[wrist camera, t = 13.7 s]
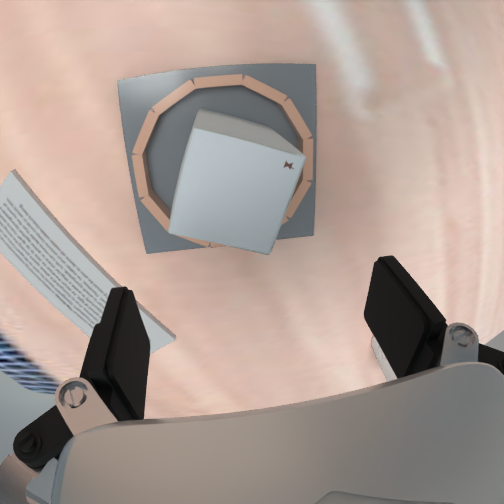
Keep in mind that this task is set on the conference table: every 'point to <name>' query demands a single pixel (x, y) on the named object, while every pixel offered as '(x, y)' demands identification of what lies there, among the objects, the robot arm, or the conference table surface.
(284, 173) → the supplement box
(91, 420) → the robot arm
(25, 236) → the plaque
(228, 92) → the ring holder
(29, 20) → the conference table surface
